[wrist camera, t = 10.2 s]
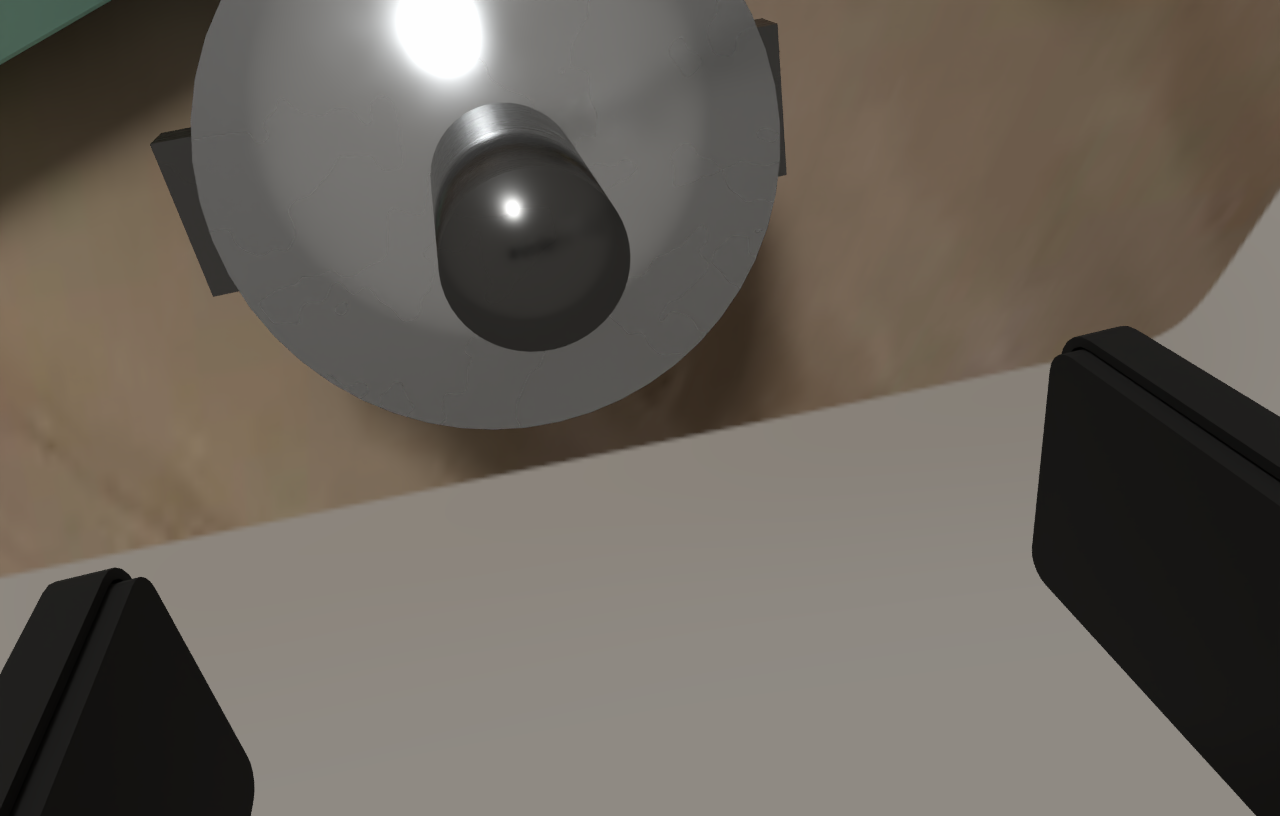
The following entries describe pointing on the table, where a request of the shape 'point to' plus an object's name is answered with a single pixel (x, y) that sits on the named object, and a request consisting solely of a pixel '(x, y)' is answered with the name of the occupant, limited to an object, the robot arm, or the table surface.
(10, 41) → the mint green octagonal rod
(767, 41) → the pot
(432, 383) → the lid
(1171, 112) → the table surface
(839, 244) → the table surface
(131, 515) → the table surface
